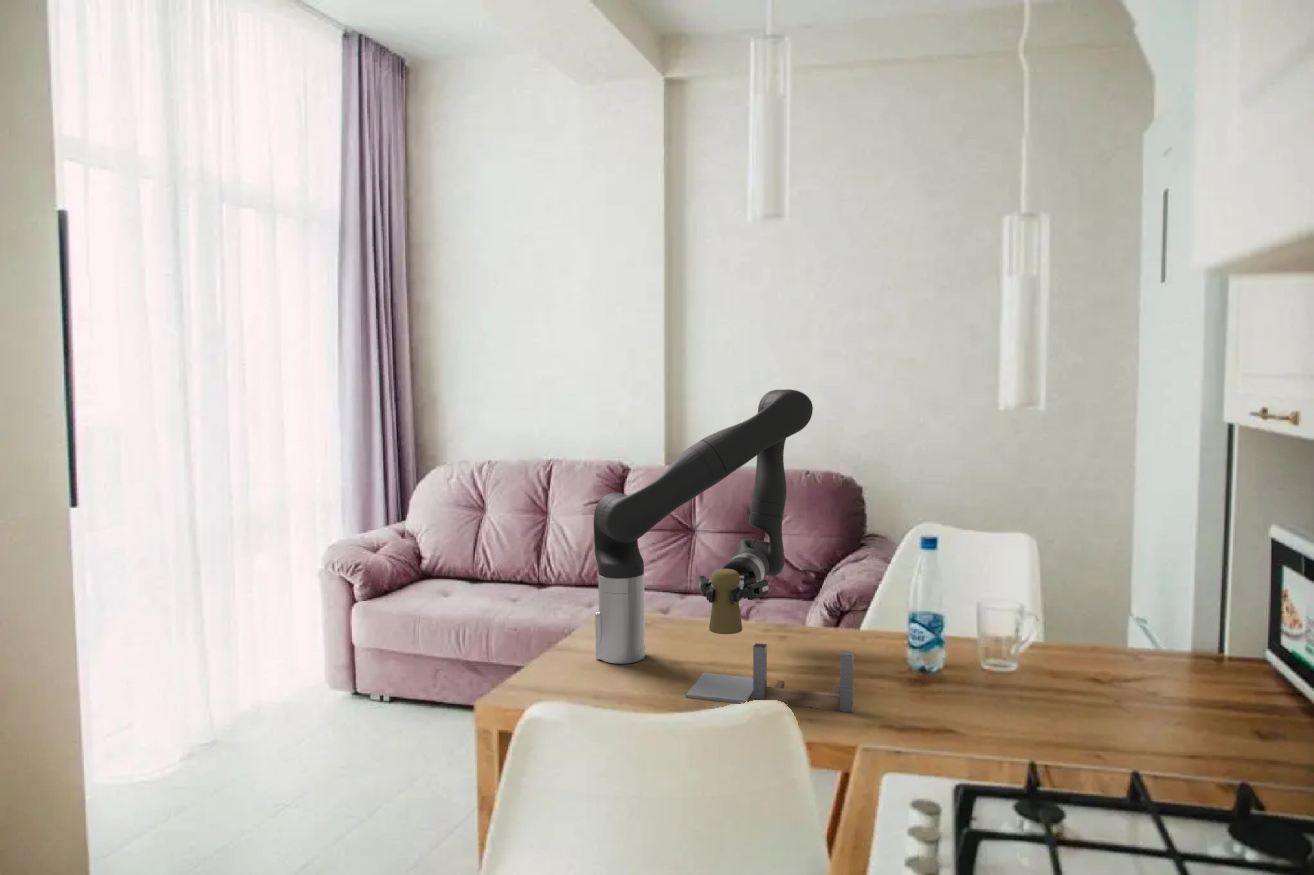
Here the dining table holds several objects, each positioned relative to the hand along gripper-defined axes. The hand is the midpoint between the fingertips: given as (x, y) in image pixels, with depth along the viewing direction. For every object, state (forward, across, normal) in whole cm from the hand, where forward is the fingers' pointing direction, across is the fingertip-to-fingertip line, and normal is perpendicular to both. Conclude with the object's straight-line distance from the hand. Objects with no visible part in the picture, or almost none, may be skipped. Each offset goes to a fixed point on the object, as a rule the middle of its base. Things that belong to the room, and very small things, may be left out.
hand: (721, 597), depth 165 cm
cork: (-3, 0, +7) cm, 7 cm away
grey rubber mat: (-3, 0, +18) cm, 18 cm away
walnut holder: (-2, +15, +18) cm, 23 cm away
